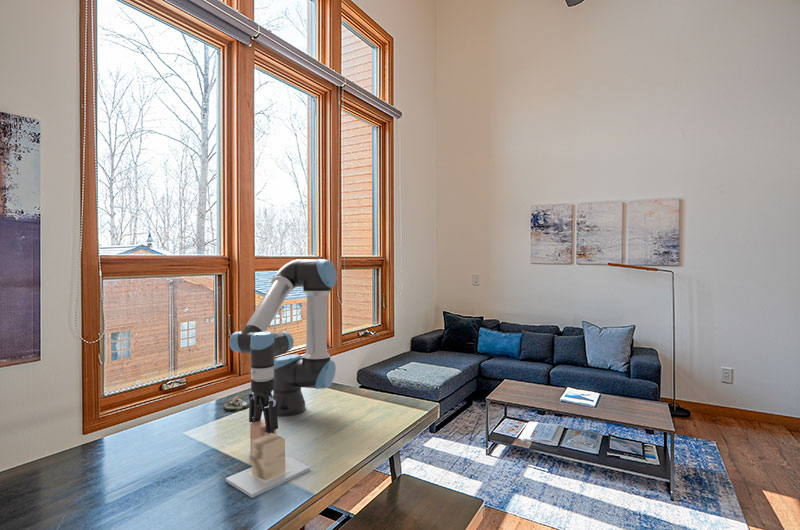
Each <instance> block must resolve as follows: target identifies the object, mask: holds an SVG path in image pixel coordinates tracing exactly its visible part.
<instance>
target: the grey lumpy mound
mask: <svg viewBox="0 0 800 530" xmlns="http://www.w3.org/2000/svg"><path fill="white" fill-rule="evenodd" d="M223 406H224V407H223V409H224V411H225V412H229V413H232V412H233V413H235V412H241V411H245V410H248V409H249V403H247V401H245V400H242V399H241V398H238V396H235V397H234V398H232V399H231V400H230V401H229V402H225V403H224V404H223Z"/></svg>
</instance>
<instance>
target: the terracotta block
mask: <svg viewBox="0 0 800 530" xmlns="http://www.w3.org/2000/svg"><path fill="white" fill-rule="evenodd" d="M249 424H250V426H249V427H250V434H249V435H250V441H251V440H253V439H255V438H258V437H261V436H264V435H265V431H266V424H265V419H264V418H263V419H261V420H260V421H257V422H254V423H252V422H250V423H249ZM274 434H276V435H277V429H276V430H274ZM250 454H251V455H252V453H251V452H250Z"/></svg>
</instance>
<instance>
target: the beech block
mask: <svg viewBox="0 0 800 530" xmlns="http://www.w3.org/2000/svg"><path fill="white" fill-rule="evenodd" d="M251 453H252V454H251ZM250 454H251V467H252V473H253V474H255V475H256V476H258V477H260V478H262V479H264V480H267V479H270V478H272V477H274V476H276V475H278V474H280V473H283V472H285V455H286V438H285V437H283V436H281V435H278V434H277V433H276V434H274V433H269V434H266V435H264V436H261V437H258V438H255V439H253V440H251V439H250Z"/></svg>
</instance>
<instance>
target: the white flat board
mask: <svg viewBox="0 0 800 530" xmlns="http://www.w3.org/2000/svg"><path fill="white" fill-rule="evenodd" d="M309 471H311V467H310V466H309V465H306V464H305V463H303V462H300V461H299V460H296V459H294V458H292V457H290V456H288V455H286V454H285V472H283V473H280V474H278V475H276V476H274V477H272V478H270V479H267V480H264V479H262V478H260V477H258V476H256V475H255V474H253V473H252V466H251V467H249V468H247V469H244V470H242V471H240V472H237V473H234V474H232V475H230V476H228V477H225V483H227V484H229V485H230V486H232V487H233V488H235V489H237V490H238V491H240V492H242V493H243V494H245V495H246V496H248V497H250V498H251V499H253V498H255V497H257V496H259V495H261V494H263V493H265V492H268V491H270V490H272V489H275V488H276V487H279V486H280V485H282V484H284V483H286V482H287V483H288V482H289V481H290V480H293V479H294V478H297V477H299V476H301V475H304V474H305V473H307V472H309Z"/></svg>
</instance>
